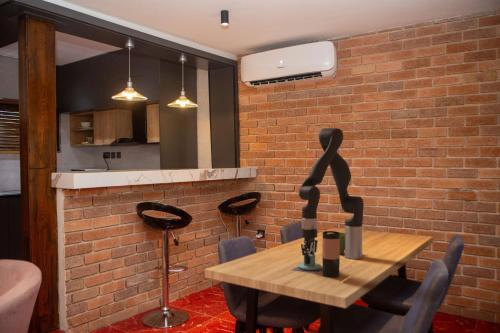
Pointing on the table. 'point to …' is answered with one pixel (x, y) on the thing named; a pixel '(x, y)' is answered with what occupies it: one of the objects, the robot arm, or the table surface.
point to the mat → (307, 270)
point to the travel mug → (331, 254)
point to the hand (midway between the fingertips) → (309, 262)
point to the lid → (312, 264)
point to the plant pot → (342, 242)
